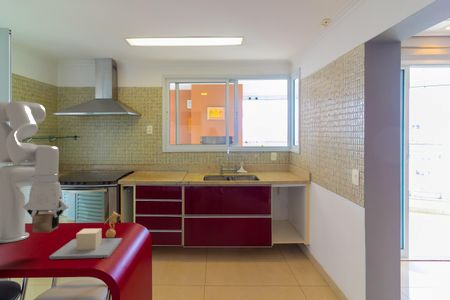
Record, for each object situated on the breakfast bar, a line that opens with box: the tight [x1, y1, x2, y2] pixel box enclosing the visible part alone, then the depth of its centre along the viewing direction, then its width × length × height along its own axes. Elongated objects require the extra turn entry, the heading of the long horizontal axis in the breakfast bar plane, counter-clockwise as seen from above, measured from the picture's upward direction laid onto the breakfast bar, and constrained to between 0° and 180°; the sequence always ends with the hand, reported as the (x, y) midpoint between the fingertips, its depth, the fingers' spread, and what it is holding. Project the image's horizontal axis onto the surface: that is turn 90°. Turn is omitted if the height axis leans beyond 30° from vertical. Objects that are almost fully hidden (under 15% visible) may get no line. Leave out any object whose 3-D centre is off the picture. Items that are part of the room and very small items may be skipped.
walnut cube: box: [32, 211, 59, 233], centre depth 109 cm, size 6×6×6 cm
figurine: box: [104, 210, 122, 238], centre depth 127 cm, size 8×6×12 cm
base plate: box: [49, 227, 123, 260], centre depth 114 cm, size 20×20×7 cm
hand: (45, 226), depth 109 cm, fingers closed on walnut cube, 6 cm apart
